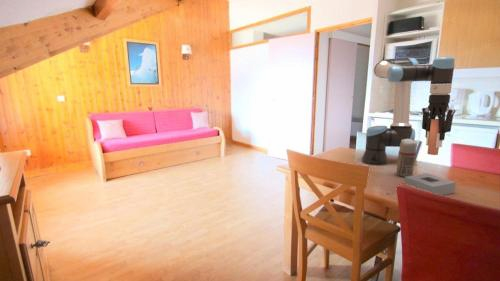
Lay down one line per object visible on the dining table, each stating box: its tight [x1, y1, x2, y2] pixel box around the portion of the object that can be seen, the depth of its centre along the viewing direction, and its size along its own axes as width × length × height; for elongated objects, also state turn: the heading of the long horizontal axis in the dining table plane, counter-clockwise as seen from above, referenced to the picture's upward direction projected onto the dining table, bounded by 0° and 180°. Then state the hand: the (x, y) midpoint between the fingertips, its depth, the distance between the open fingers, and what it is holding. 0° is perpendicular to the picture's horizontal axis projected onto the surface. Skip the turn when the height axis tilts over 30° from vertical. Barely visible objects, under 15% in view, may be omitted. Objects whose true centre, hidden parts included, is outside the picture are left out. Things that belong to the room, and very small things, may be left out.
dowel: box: [426, 118, 440, 156], centre depth 116 cm, size 4×4×16 cm
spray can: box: [395, 139, 418, 178], centre depth 139 cm, size 8×8×20 cm
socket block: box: [404, 172, 457, 196], centre depth 121 cm, size 14×14×5 cm
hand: (433, 145), depth 117 cm, fingers closed on dowel, 4 cm apart
